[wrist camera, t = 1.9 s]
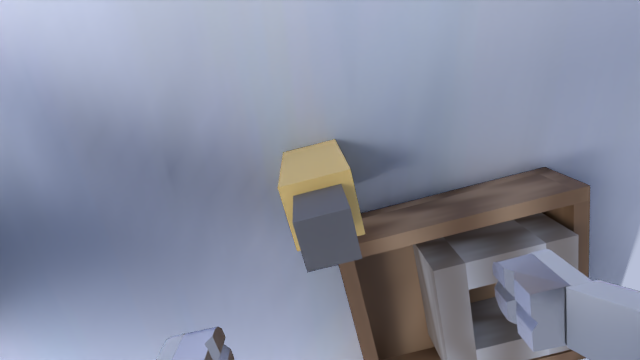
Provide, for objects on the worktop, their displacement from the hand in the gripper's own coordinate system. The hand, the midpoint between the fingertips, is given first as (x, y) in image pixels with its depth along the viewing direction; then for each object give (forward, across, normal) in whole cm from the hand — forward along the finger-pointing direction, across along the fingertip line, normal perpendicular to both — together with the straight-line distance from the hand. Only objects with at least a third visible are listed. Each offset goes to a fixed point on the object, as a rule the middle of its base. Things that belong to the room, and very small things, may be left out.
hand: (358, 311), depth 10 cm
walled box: (+15, -7, +11) cm, 19 cm away
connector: (+14, +1, 0) cm, 14 cm away
